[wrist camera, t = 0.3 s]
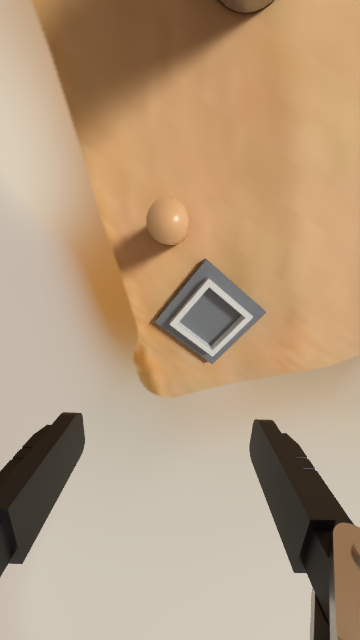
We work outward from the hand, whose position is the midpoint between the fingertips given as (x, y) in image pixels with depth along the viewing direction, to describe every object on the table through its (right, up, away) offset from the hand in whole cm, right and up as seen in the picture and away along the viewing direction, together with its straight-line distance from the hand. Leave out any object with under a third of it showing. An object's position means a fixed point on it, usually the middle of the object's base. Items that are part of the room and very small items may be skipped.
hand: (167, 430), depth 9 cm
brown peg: (0, +17, +17) cm, 24 cm away
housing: (+5, +6, +21) cm, 22 cm away
